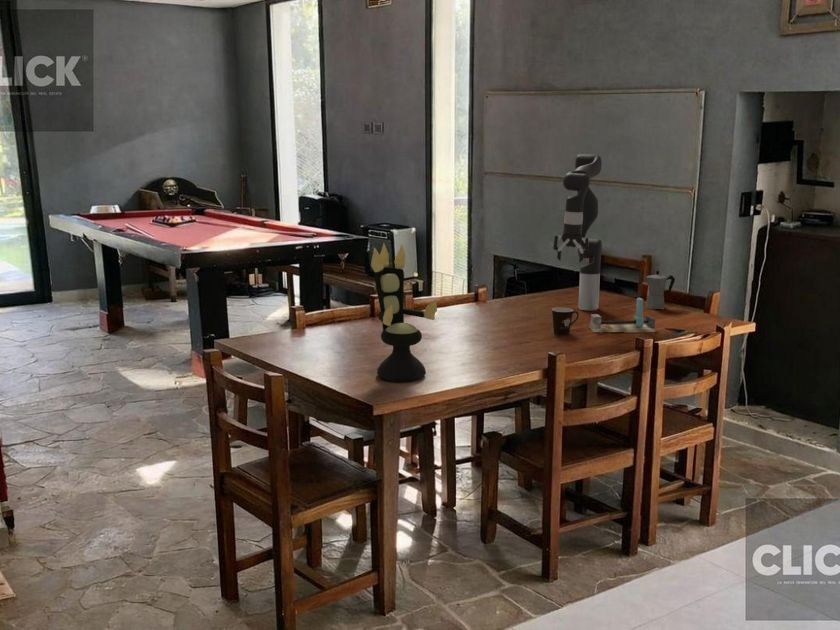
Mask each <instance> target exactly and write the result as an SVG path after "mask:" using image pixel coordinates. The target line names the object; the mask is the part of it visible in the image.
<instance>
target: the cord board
mask: <svg viewBox="0 0 840 630" xmlns="http://www.w3.org/2000/svg"><path fill="white" fill-rule="evenodd" d="M634 323H636V321H634V320H602V316H600V315H599V314H597V313H594V314H592V313H591V314H590V324H589V327H588V329H589V328H590V329H591V330H590V329H589V330H590V331H592V332H593V333H594V332H601V333H600V334H602V332H624V333H656V318H655V317H653V316H651V315H645V319H644V326H640V327H636V325H634Z"/></svg>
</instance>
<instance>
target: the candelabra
mask: <svg viewBox="0 0 840 630" xmlns="http://www.w3.org/2000/svg"><path fill="white" fill-rule="evenodd" d="M389 257H390V254H389V252H388V250H387V246H386V245H385V243H383V244H382V248H381V251H380V253H379V252H378V250H377V248H375V247H373V253H372V258H371V265H370V266H371V268H372V270H373V272H374V283H375V288H376V289H375V290H376V293H377V299H378V302H379V303H378V304H379V308H380V311H379V312H378V313H377V317H378V320H379V321H381V324H382V331H381V334H380V339H381V341H382V342H383V343H384V344H385V345H388V346H392V352H391V353H390V354H389V355H388V356H387V357H386V358H385V359H384V360H383V361H382V362H381V363H380V364H379V366H378V367H377V371H376V374H377V375H378V376H379V378H380V379H382V378H383V379H382V380H384V379H385V381H388V380H389V382H395V381H397V383H405V382H406V383H407V382H414V380H415V381H418V380H420V379H422V378H423V377H425V375H426V374H427V372H426V367H425V366H424V364H423V362H421V361H420V359H418V358H417V357H416V356H414V354H412V352H411V346H415V345H416V344H417V345H418V344H419V343H420V342H421V341H422V337H423V335H422V332H421V331H420V329H418V328H417V327H416V326H414V325H412V324H410V323H407V322H405V319H404V318H405V317H404V315H406V316H412V317H418V318H425V319H426V320H431V321H434V320H435V316H436V315H435V314H436V313H437V312H438V306H437V305H438V304H437V299H436V298H434V300H433V301H430V302H429V303H428V304H427V306H426V308H425V309H424V310H420V309H414V308H404V295H405V294H404V290H405V289H404V287H405V272H404V268H405V261H406V252H405V249H404V245H403V244H401V245H400V248H399V250H398V252H397V254H396V256H395V259H394V261H393V262H394V267H392V266H391V267H390V266H389V265H390V261H389V259H390V258H389Z"/></svg>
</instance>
